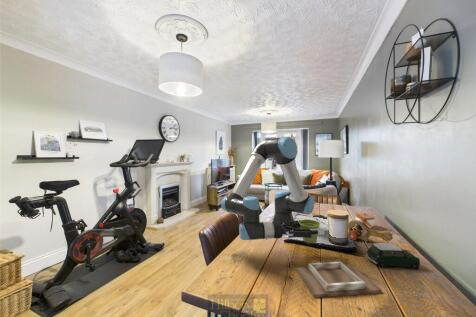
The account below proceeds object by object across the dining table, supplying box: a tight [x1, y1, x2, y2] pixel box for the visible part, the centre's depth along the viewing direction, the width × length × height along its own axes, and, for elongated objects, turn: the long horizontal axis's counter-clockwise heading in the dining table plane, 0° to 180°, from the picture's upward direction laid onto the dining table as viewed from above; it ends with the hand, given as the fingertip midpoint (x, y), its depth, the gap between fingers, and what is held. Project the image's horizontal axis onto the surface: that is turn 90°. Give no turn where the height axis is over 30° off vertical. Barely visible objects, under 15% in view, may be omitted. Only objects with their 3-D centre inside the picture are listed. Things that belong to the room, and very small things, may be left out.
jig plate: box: [295, 261, 383, 299], centre depth 74 cm, size 24×16×3 cm, turn 95°
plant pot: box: [298, 219, 321, 244], centre depth 93 cm, size 9×9×9 cm
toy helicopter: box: [347, 213, 394, 243], centre depth 106 cm, size 8×21×14 cm, turn 39°
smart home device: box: [312, 214, 328, 219], centre depth 143 cm, size 8×2×20 cm
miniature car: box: [365, 242, 421, 271], centre depth 85 cm, size 9×18×8 cm, turn 83°
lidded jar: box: [354, 212, 375, 229], centre depth 128 cm, size 11×11×9 cm
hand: (318, 227), depth 94 cm, fingers closed on plant pot, 8 cm apart
